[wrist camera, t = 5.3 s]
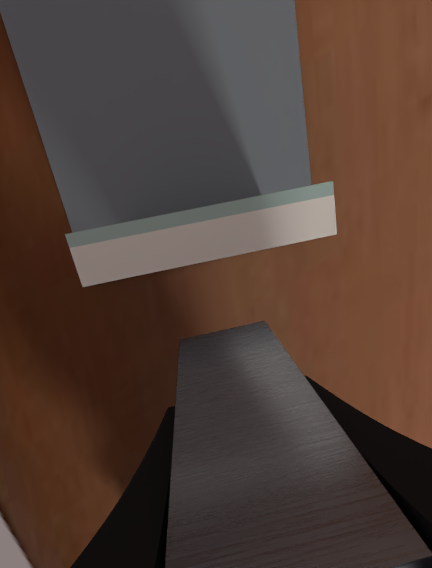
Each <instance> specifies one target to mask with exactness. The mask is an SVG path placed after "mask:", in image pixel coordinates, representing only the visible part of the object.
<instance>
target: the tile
mask: <svg viewBox="0 0 432 568" xmlns="http://www.w3.org/2000/svg"><path fill="white" fill-rule="evenodd" d="M336 234H337V229H336V215H335V202H334V188H333V181H331V182H326V183H321V184H316V185H311V186H306V187H301V188H296V189H291V190H286V191H281V192H275V193H270V194H265V195H260V196H255V197H250V198H245V199H240V200H235V201H230V202H225V203H220V204H215V205H210V206H205V207H200V208H195V209H190V210H185V211H180V212H175V213H170V214H165V215H159V216H154V217H149V218H144V219H139V220H134V221H129V222H124V223H119V224H114V225H109V226H104V227H99V228H94V229H89V230H84V231H79V232H74V233H69V234H65V236H66V239H67V242H68V245H69V248H70V251H71V254H72V257H73V260H74V263H75V266H76V269H77V272H78V275H79V278H80V281H81V284H82V287H86V286H91V285H96V284H100V283H105V282H110V281H115V280H120V279H124V278H129V277H134V276H139V275H144V274H148V273H153V272H158V271H163V270H168V269H172V268H177V267H182V266H187V265H192V264H196V263H201V262H206V261H211V260H216V259H220V258H225V257H230V256H235V255H240V254H244V253H249V252H254V251H259V250H264V249H268V248H273V247H278V246H283V245H288V244H292V243H297V242H302V241H307V240H312V239H316V238H321V237H326V236H331V235H336Z"/></svg>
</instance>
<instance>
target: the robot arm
mask: <svg viewBox="0 0 432 568" xmlns="http://www.w3.org/2000/svg"><path fill="white" fill-rule="evenodd" d="M305 378H306V379H307V381H308V382H309V383H310V385H311V386H312V387H313V389H314V390H315V392H316V393H317V394H318V396H319V397H320V399H321V400H322V401H323V403H324V404H325V405H326V407H327V408H328V410H329V411H330V412H331V414H332V415H333V417H334V418H335V419H336V421H337V422H338V424H339V425H340V426H341V428H342V429H343V430H344V432H345V433H346V435H347V436H348V437H349V439H350V440H351V442H352V443H353V444H354V446H355V447H356V449H357V450H358V451H359V453H360V454H361V455H362V457H363V458H364V460H365V461H366V462H367V464H368V465H369V467H370V468H371V469H372V471H373V472H374V473H375V475H376V476H377V478H378V479H379V480H380V482H381V483H382V485H383V486H384V487H385V489H386V490H387V492H388V493H389V494H390V496H391V497H392V498H393V500H394V501H395V503H396V504H397V505H398V507H399V508H400V510H401V511H402V512H403V514H404V515H405V517H406V518H407V519H408V521H409V522H410V523H411V525H412V526H413V528H414V529H415V530H416V532H417V533H418V535H419V536H420V537H421V539H422V540H423V541H424V543H425V544H426V546H427V547H428V548H429V550H430V551H431V553H432V449H431V448H429V447H427V446H424V445H422V444H420V443H418V442H416V441H414V440H412V439H410V438H408V437H406V436H404V435H402V434H400V433H398V432H396V431H394V430H392V429H390V428H388V427H386V426H384V425H383V424H381V423H379V422H377V421H376V420H374V419H372V418H370V417H369V416H367V415H365V414H363V413H362V412H360V411H358V410H357V409H355V408H354V407H352V406H350V405H349V404H347V403H346V402H344V401H343V400H341V399H340V398H338V397H337V396H335V395H334V394H332V393H331V392H329V391H328V390H326V389H325V388H323V387H322V386H320V385H319V384H318V383H316V382H315V381H313V380H312V379H310V378H309V377H307V376H305ZM174 420H175V406H173V407H169V408H168V409H167V411H166V413H165V415H164V418H163V420H162V422H161V424H160V427H159V429H158V431H157V433H156V435H155V437H154V439H153V441H152V443H151V445H150V447H149V449H148V451H147V453H146V455H145V457H144V459H143V461H142V462H141V464H140V466H139V468H138V469H137V471H136V473H135V475H134V476H133V478H132V480H131V482H130V483H129V485H128V487H127V488H126V490H125V492H124V493H123V495H122V496H121V498H120V499H119V501H118V503H117V504H116V506H115V507H114V509H113V510H112V512H111V513H110V515H109V516H108V518H107V519H106V520H105V522H104V523H103V525H102V526H101V527H100V529H99V530H98V532H97V533H96V534H95V536H94V537H93V538H92V540H91V541H90V543H89V544H88V545H87V547H86V548H85V549H84V551H83V552H82V553H81V555H80V556H79V557H78V558H77V560H76V561H75V562H74V564H73V565H72V566H71V567H70V568H165V560H166V544H167V529H168V513H169V497H170V482H171V466H172V451H173V435H174Z"/></svg>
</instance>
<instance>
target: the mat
mask: <svg viewBox="0 0 432 568" xmlns="http://www.w3.org/2000/svg"><path fill="white" fill-rule="evenodd" d="M0 13H1V16H2V19H3V22H4V25H5V28H6V31H7V34H8V37H9V41H10V44H11V47H12V50H13V53H14V56H15V59H16V62H17V65H18V68H19V71H20V74H21V77H22V80H23V83H24V86H25V89H26V92H27V95H28V99H29V102H30V105H31V108H32V111H33V114H34V117H35V120H36V123H37V126H38V129H39V132H40V135H41V138H42V141H43V144H44V147H45V150H46V154H47V157H48V160H49V163H50V166H51V169H52V172H53V175H54V178H55V181H56V184H57V187H58V190H59V193H60V196H61V199H62V202H63V205H64V208H65V212H66V215H67V218H68V221H69V224H70V227H71V230H72V233H74V232H79V231H84V230H89V229H94V228H99V227H104V226H109V225H114V224H119V223H124V222H129V221H134V220H139V219H144V218H149V217H154V216H159V215H165V214H170V213H175V212H180V211H185V210H190V209H195V208H200V207H205V206H210V205H215V204H220V203H225V202H230V201H235V200H240V199H245V198H250V197H255V196H260V195H265V194H270V193H275V192H281V191H286V190H291V189H296V188H301V187H306V186H311V174H310V163H309V152H308V142H307V131H306V120H305V109H304V99H303V88H302V77H301V67H300V56H299V45H298V34H297V24H296V13H295V2H294V0H0Z"/></svg>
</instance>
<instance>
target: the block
mask: <svg viewBox="0 0 432 568" xmlns="http://www.w3.org/2000/svg"><path fill="white" fill-rule="evenodd" d="M165 568H432V553H431V551H430V550H429V548H428V547H427V546H426V544H425V543H424V541H423V540H422V539H421V537H420V536H419V535H418V533H417V532H416V530H415V529H414V528H413V526H412V525H411V523H410V522H409V521H408V519H407V518H406V517H405V515H404V514H403V512H402V511H401V510H400V508H399V507H398V505H397V504H396V503H395V501H394V500H393V498H392V497H391V496H390V494H389V493H388V492H387V490H386V489H385V487H384V486H383V485H382V483H381V482H380V480H379V479H378V478H377V476H376V475H375V473H374V472H373V471H372V469H371V468H370V467H369V465H368V464H367V462H366V461H365V460H364V458H363V457H362V455H361V454H360V453H359V451H358V450H357V449H356V447H355V446H354V444H353V443H352V442H351V440H350V439H349V437H348V436H347V435H346V433H345V432H344V430H343V429H342V428H341V426H340V425H339V424H338V422H337V421H336V419H335V418H334V417H333V415H332V414H331V412H330V411H329V410H328V408H327V407H326V405H325V404H324V403H323V401H322V400H321V399H320V397H319V396H318V394H317V393H316V392H315V390H314V389H313V387H312V386H311V385H310V383H309V382H308V381H307V379H306V378H305V376H304V375H303V374H302V372H301V371H300V369H299V368H298V367H297V365H296V364H295V362H294V361H293V360H292V358H291V357H290V356H289V354H288V353H287V351H286V350H285V349H284V347H283V346H282V344H281V343H280V342H279V340H278V339H277V337H276V336H275V335H274V333H273V332H272V331H271V329H270V328H269V326H268V325H267V324H266V322H265V321H261V322H257V323H252V324H248V325H243V326H239V327H235V328H230V329H226V330H221V331H217V332H212V333H208V334H203V335H199V336H194V337H190V338H185V339H181V340H180V342H179V357H178V373H177V388H176V404H175V420H174V435H173V451H172V466H171V482H170V497H169V513H168V529H167V544H166V560H165Z"/></svg>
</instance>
